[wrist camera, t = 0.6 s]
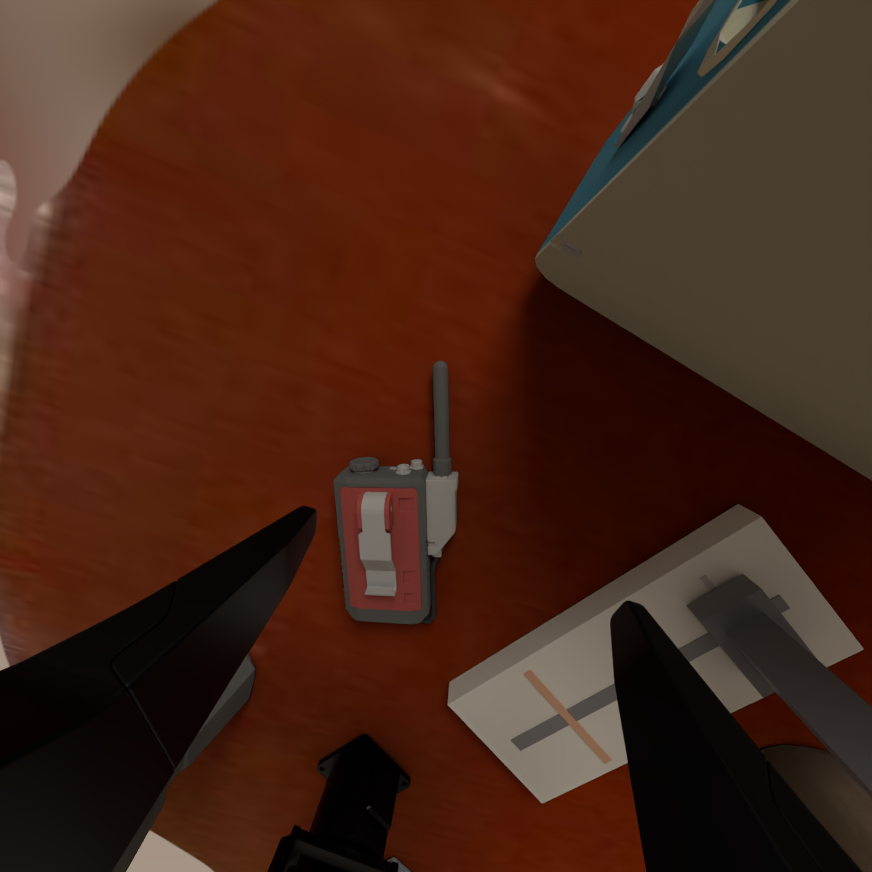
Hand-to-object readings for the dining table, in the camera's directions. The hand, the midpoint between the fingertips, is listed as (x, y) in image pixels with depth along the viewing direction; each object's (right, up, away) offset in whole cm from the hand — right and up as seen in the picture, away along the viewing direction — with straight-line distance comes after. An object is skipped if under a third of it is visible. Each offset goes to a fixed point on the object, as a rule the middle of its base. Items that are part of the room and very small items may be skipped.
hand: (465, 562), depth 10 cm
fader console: (+14, -14, +17) cm, 26 cm away
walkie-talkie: (-3, -1, +17) cm, 18 cm away
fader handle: (+20, -9, +13) cm, 26 cm away
